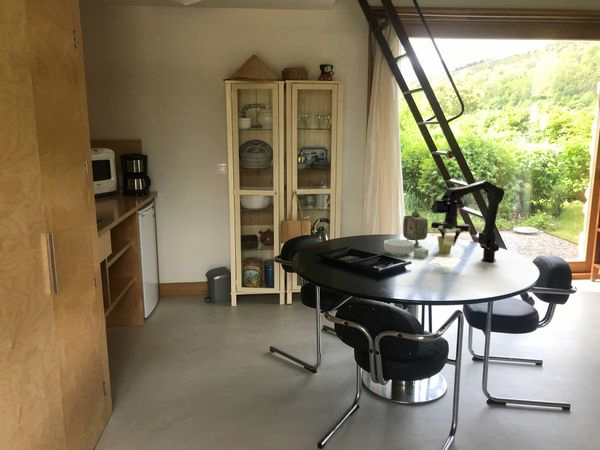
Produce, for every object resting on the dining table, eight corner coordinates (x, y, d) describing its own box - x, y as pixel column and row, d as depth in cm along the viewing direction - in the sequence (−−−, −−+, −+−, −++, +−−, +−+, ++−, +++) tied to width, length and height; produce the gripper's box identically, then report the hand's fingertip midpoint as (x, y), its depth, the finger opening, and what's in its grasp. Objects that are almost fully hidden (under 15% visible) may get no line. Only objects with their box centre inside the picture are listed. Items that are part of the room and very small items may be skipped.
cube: (445, 243, 253) (446, 233, 252) (455, 244, 251) (456, 234, 250) (443, 244, 249) (443, 235, 248) (453, 246, 246) (453, 236, 246)
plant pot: (456, 253, 273) (457, 238, 272) (443, 254, 270) (444, 239, 268) (446, 249, 282) (447, 235, 280) (432, 251, 278) (433, 236, 277)
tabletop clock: (402, 242, 300) (404, 202, 296) (415, 241, 303) (417, 202, 299) (414, 247, 287) (416, 206, 282) (427, 246, 290) (429, 205, 285)
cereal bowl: (405, 259, 259) (406, 246, 258) (378, 255, 269) (378, 242, 268) (418, 253, 272) (419, 241, 271) (391, 249, 282) (392, 237, 281)
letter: (437, 256, 266) (437, 256, 266) (461, 259, 259) (461, 259, 259) (427, 263, 251) (427, 263, 251) (453, 267, 244) (453, 267, 244)
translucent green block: (417, 255, 269) (417, 248, 269) (428, 256, 266) (428, 249, 265) (413, 257, 264) (413, 250, 264) (424, 259, 261) (424, 251, 260)
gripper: (429, 213, 245) (427, 243, 247) (467, 216, 235) (464, 247, 238) (435, 210, 254) (433, 239, 257) (471, 213, 245) (469, 243, 248)
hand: (449, 242), depth 250 cm, fingers closed on cube, 5 cm apart
